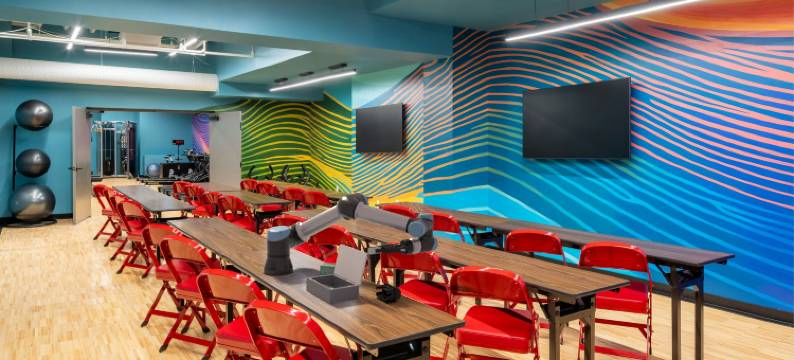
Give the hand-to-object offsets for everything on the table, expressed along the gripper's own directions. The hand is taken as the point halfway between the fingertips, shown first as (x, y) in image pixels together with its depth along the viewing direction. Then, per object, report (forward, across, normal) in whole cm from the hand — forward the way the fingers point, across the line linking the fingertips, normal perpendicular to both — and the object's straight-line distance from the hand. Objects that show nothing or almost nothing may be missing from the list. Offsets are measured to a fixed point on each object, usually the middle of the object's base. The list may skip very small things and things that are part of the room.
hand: (368, 251), depth 233 cm
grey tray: (+19, 0, -18) cm, 26 cm away
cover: (+10, 0, -5) cm, 11 cm away
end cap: (+2, -20, -18) cm, 27 cm away
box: (+5, +24, -18) cm, 30 cm away
